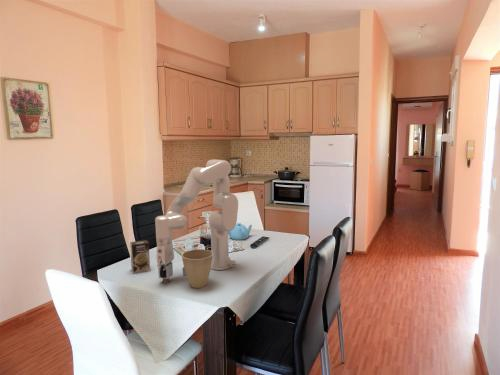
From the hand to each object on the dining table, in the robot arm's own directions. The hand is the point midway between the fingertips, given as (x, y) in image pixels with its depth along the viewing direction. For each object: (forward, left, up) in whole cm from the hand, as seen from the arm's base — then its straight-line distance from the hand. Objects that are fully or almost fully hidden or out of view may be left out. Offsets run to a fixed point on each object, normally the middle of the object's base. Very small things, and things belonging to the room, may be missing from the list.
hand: (166, 275), depth 183 cm
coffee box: (+21, -11, -4) cm, 24 cm away
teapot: (-14, -84, -4) cm, 85 cm away
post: (0, 0, -3) cm, 3 cm away
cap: (0, 0, -1) cm, 1 cm away
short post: (-6, -11, -3) cm, 13 cm away
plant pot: (-18, +1, -4) cm, 18 cm away
